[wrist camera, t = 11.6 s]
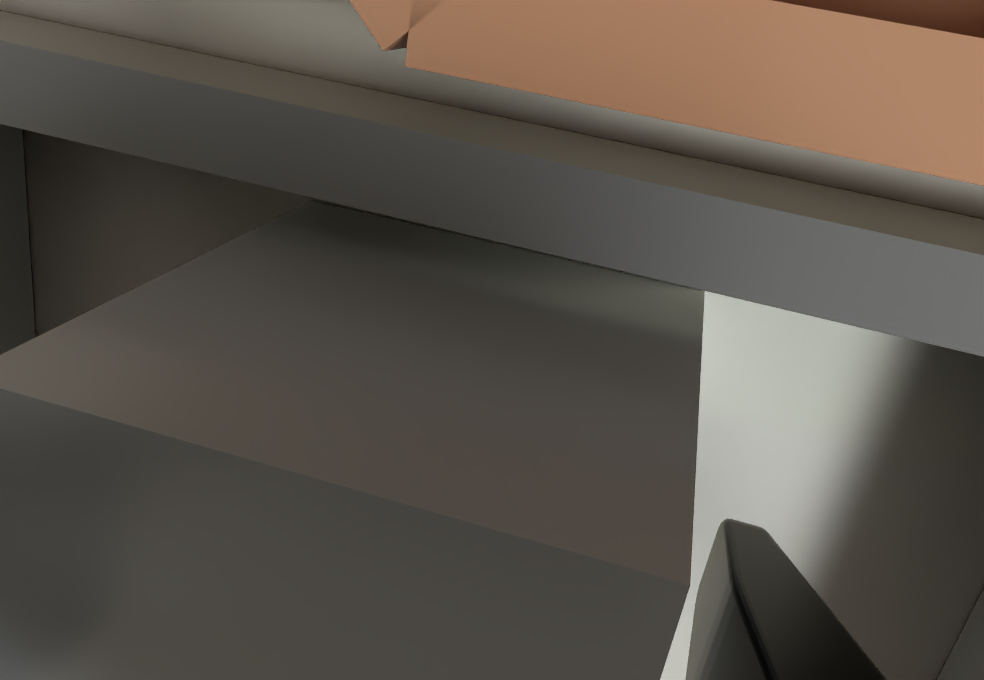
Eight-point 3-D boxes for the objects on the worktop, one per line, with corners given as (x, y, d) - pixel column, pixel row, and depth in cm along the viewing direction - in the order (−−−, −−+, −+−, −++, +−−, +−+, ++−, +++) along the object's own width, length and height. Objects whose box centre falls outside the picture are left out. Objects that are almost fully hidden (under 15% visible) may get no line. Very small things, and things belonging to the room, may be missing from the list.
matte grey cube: (613, 615, 11) (537, 1058, 6) (290, 519, 11) (13, 854, 7) (704, 288, 9) (690, 585, 4) (312, 200, 10) (-43, 375, 5)
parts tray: (795, 1075, 13) (805, 1210, 12) (25, 784, 15) (-48, 867, 14) (1250, 276, 8) (1376, 341, 6) (-47, 0, 10) (-179, 1, 8)
